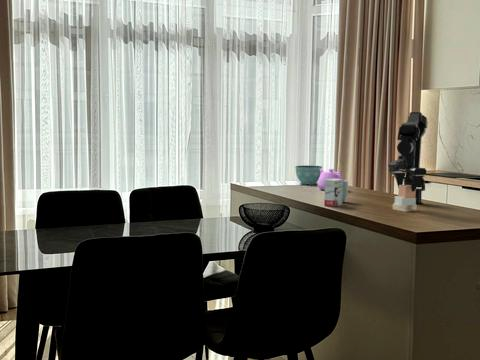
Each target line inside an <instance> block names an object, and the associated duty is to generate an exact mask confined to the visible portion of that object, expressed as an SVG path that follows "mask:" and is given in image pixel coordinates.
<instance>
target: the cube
mask: <svg viewBox="0 0 480 360" xmlns="http://www.w3.org/2000/svg"><path fill="white" fill-rule="evenodd" d="M415 194H416V189H415V191H412V189H411V185H404V184H403V185H399V188H398V195H397V196H398V197H402V198H415Z"/></svg>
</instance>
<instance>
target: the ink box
mask: <svg viewBox="0 0 480 360" xmlns="http://www.w3.org/2000/svg"><path fill="white" fill-rule="evenodd" d="M343 180H344V178H343V179H325V190H324V204H323V205H324V206H325V207H331V206H332V207H333V208H335V207H338V206H342V205H343V202H342V187H343ZM334 206H335V207H334Z"/></svg>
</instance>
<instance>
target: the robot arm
mask: <svg viewBox="0 0 480 360" xmlns="http://www.w3.org/2000/svg"><path fill="white" fill-rule="evenodd" d="M426 129H428V118H427V117H426V115H424V114H423V113H422V111H411V112H409V116H408V117H407V120H406V122H403V123H401V125H400V126H399V128H398V132H397V138H396V139H397V141H400V142H398V144H397V147H396V148H397V149H396V150H397V152H398V154H400V155H398V156H397V159H396V160H392V161H391V162H389V163H388V165H387V166H388V172H390V174H391V175H393V176H394V178H395V181H396V185H397V189H399V185H411V189H412V191H415V189H416V194H415V198H416V205H420V204H421V205H422V204H424V202H422V193H423V192H425V191H426V180H425V179H424V177H425V176H427V171H428V170H427V169H426V168H424V167H420V165H421V152H422V138H423V137H424V135H425V134H426V131H427V130H426Z"/></svg>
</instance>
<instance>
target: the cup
mask: <svg viewBox="0 0 480 360" xmlns="http://www.w3.org/2000/svg"><path fill="white" fill-rule="evenodd" d="M348 189H349V182H348V180H345V179H343V187H342V203H344V202H346V200H347V198H348V192H349V191H348Z"/></svg>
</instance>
